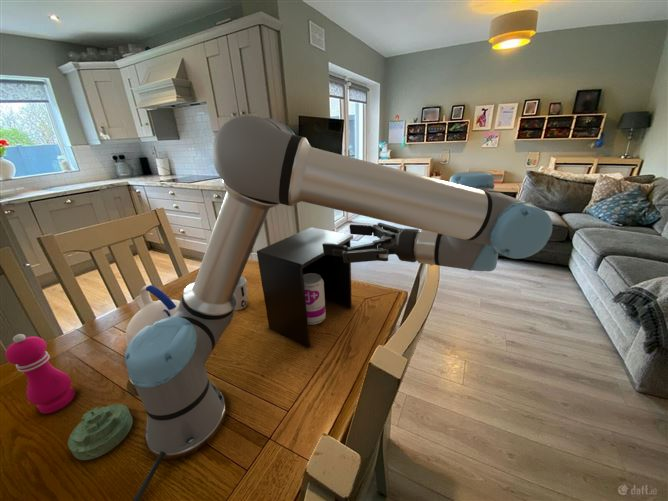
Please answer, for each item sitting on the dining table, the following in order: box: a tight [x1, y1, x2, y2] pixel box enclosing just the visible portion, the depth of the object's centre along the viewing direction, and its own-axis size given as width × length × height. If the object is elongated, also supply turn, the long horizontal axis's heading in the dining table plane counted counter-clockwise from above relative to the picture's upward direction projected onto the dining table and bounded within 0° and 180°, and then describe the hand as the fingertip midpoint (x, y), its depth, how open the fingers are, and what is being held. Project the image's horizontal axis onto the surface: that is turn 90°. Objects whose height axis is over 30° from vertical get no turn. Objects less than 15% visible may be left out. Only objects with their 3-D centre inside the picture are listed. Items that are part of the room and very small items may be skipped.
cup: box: [234, 276, 248, 311], centre depth 98 cm, size 8×8×10 cm
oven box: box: [256, 226, 354, 349], centre depth 87 cm, size 17×24×27 cm
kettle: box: [124, 284, 181, 348], centre depth 83 cm, size 20×21×18 cm
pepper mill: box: [4, 333, 76, 415], centre depth 62 cm, size 7×7×20 cm
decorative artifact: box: [67, 403, 134, 461], centre depth 56 cm, size 10×7×10 cm
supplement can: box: [303, 273, 327, 325], centre depth 89 cm, size 8×8×15 cm
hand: (338, 238), depth 73 cm, fingers open, 13 cm apart
